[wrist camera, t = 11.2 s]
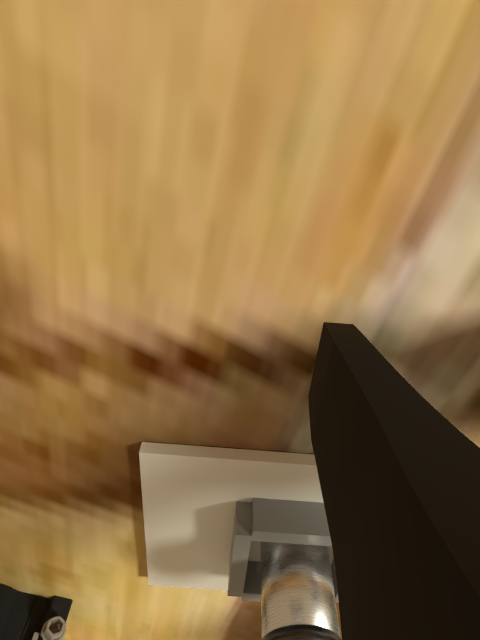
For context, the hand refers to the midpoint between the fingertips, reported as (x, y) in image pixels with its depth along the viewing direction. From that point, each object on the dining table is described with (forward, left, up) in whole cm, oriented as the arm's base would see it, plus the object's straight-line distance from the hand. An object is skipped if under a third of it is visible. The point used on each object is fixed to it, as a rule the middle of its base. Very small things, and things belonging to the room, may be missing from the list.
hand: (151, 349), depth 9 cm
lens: (-7, +22, -10) cm, 25 cm away
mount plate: (-7, +23, -10) cm, 26 cm away
